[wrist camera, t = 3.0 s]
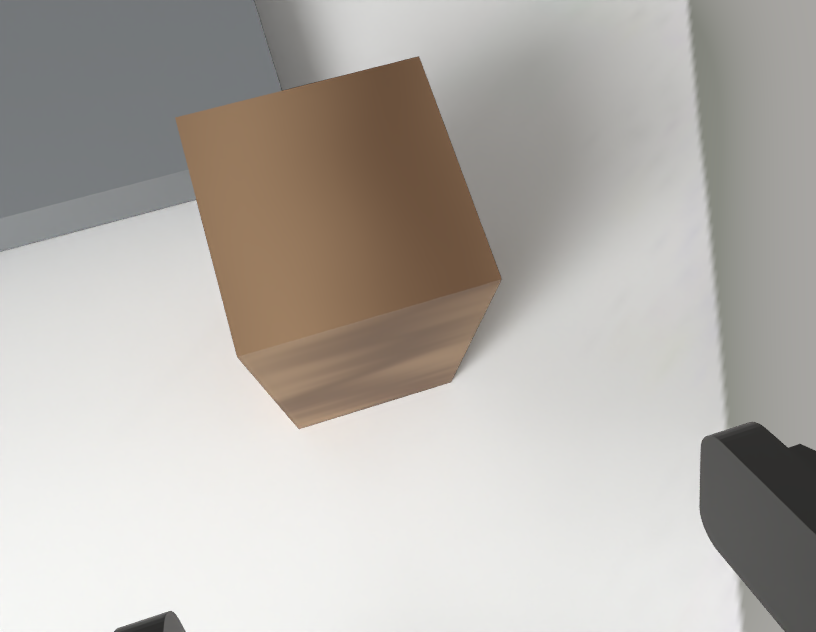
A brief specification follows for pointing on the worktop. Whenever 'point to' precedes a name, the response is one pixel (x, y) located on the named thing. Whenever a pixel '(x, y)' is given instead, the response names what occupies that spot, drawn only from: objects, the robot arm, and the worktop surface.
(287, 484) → the worktop surface
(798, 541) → the robot arm
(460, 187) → the walnut block
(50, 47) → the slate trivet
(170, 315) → the worktop surface
